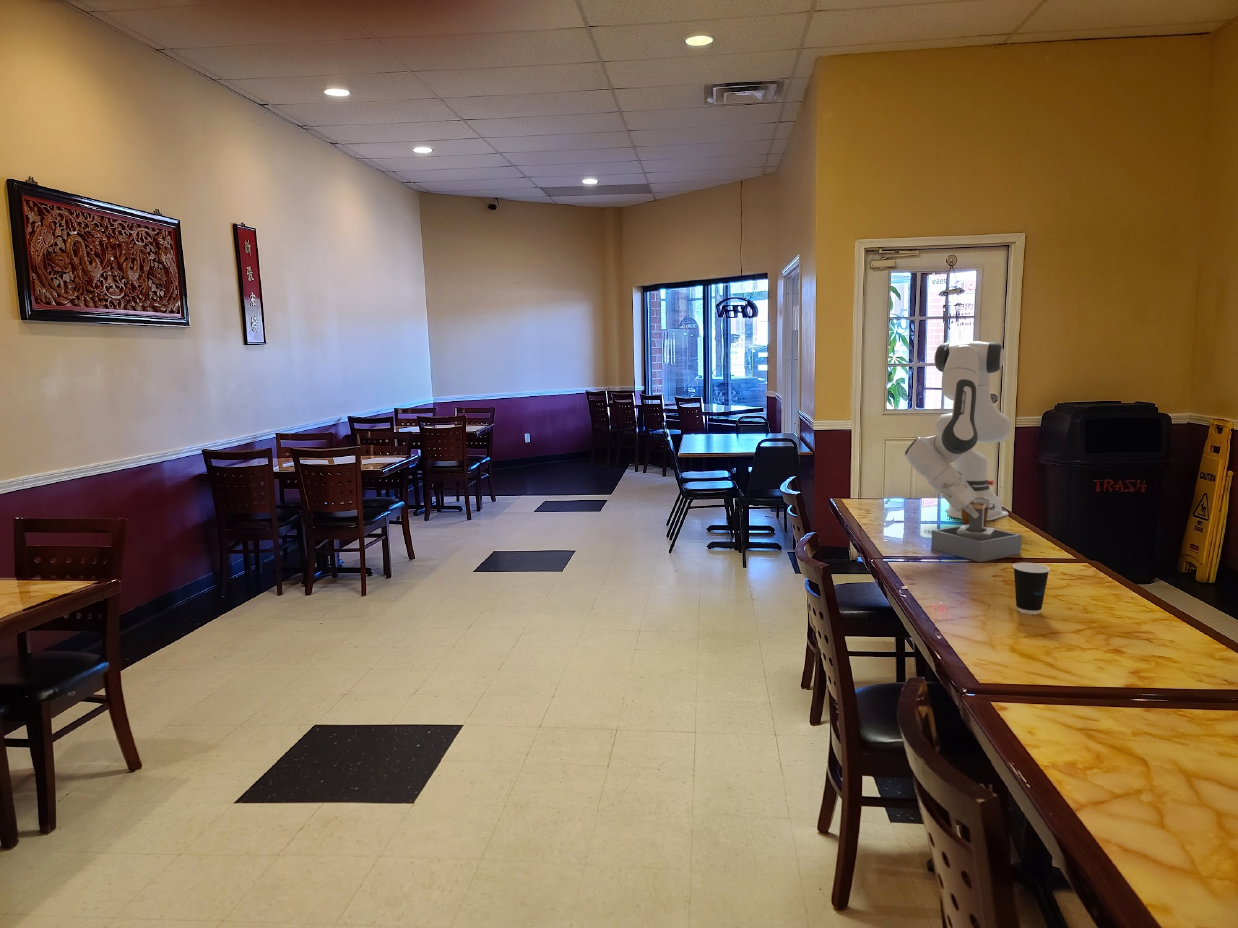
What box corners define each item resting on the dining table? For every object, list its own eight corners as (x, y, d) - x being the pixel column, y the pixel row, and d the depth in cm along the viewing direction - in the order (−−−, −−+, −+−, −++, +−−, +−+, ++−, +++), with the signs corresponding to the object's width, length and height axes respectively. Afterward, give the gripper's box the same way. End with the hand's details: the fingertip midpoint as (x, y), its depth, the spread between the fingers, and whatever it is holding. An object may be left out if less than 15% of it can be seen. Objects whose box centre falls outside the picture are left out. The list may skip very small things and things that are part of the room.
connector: (970, 527, 241) (971, 502, 240) (983, 528, 239) (985, 503, 238) (968, 530, 238) (969, 504, 237) (981, 531, 236) (983, 505, 235)
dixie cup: (1047, 618, 179) (1050, 573, 178) (1009, 613, 183) (1011, 568, 182) (1047, 608, 186) (1050, 564, 185) (1011, 603, 190) (1013, 560, 189)
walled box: (970, 541, 252) (971, 523, 251) (1020, 553, 236) (1021, 534, 235) (931, 548, 244) (931, 530, 243) (980, 561, 228) (981, 542, 227)
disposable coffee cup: (993, 536, 257) (995, 501, 256) (965, 537, 258) (966, 502, 256) (981, 530, 267) (982, 496, 265) (953, 530, 267) (955, 496, 265)
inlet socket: (961, 543, 246) (962, 524, 245) (994, 546, 241) (995, 528, 240) (956, 549, 238) (957, 530, 237) (989, 553, 233) (990, 534, 232)
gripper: (948, 479, 231) (982, 514, 227) (960, 470, 248) (992, 503, 244) (931, 493, 235) (965, 528, 231) (945, 483, 251) (976, 515, 247)
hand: (979, 515), depth 238 cm, fingers closed on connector, 4 cm apart
